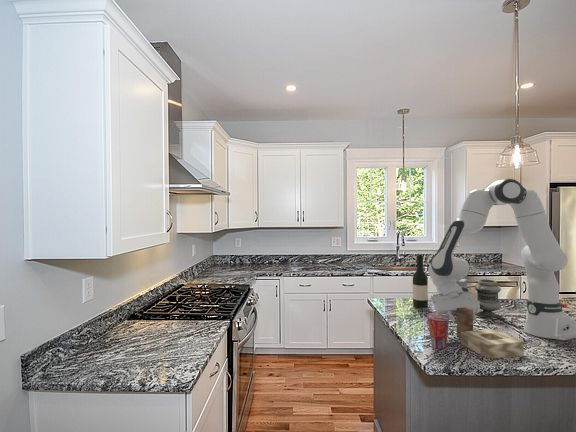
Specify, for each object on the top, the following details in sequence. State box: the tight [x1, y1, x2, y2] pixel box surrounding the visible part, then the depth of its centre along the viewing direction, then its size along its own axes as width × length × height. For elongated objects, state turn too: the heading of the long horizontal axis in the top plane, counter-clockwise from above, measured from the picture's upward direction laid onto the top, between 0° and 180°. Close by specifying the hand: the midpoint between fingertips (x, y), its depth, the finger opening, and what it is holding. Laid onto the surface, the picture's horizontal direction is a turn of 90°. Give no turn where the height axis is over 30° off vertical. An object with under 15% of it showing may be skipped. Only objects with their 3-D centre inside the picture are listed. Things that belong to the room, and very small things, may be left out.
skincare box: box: [456, 278, 468, 288], centre depth 201 cm, size 8×7×16 cm
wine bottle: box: [412, 253, 429, 309], centre depth 204 cm, size 8×8×30 cm
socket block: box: [460, 328, 525, 360], centre depth 137 cm, size 15×15×5 cm
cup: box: [426, 313, 451, 350], centre depth 141 cm, size 9×8×12 cm
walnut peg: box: [456, 307, 474, 339], centre depth 151 cm, size 4×4×12 cm
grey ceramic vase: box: [474, 278, 502, 319], centre depth 184 cm, size 12×12×18 cm
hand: (464, 321), depth 151 cm, fingers open, 8 cm apart
